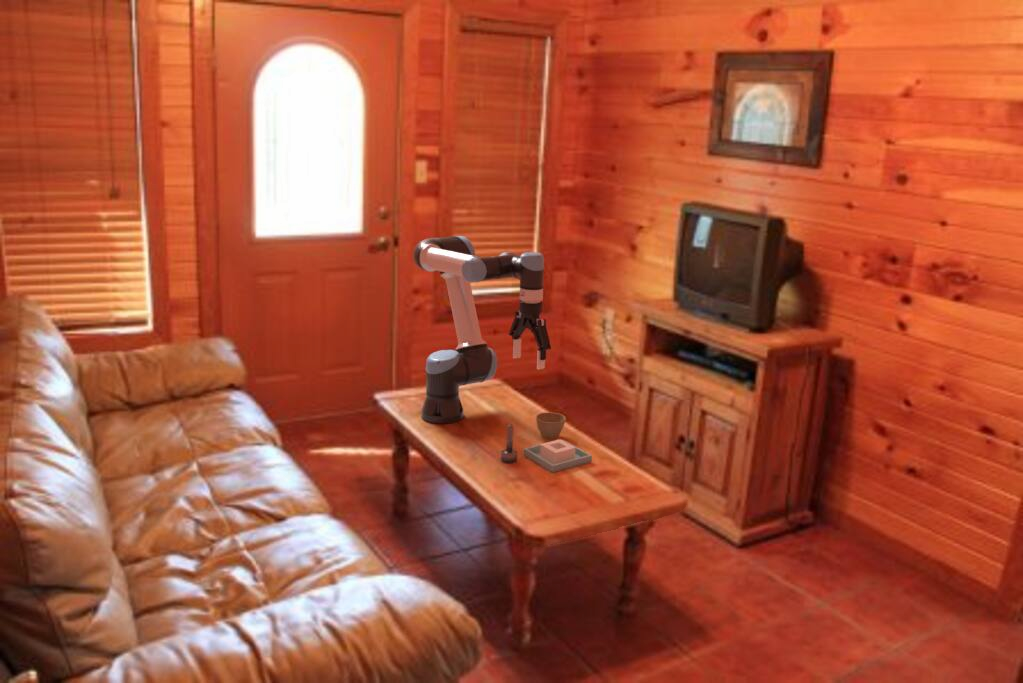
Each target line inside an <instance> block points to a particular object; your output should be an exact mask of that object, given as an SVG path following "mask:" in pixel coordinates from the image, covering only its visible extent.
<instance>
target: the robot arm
mask: <svg viewBox="0 0 1023 683" xmlns="http://www.w3.org/2000/svg"><path fill="white" fill-rule="evenodd" d="M412 251H413V252H412V259H413V263H414V264H415V266H416V267H417V268H418V269H420V270H422V271H426V272H430V273H431V272H435V271H437V272H439V276H440V277H441V278H443V279H444V280H445V284H446V289H447V293H448V297H449V298H448V299H449V302H450V308H451V312H452V313H451V314H452V317H453V323H454V328H455V333H456V338H457V344H458V345H457V346H456V347H455V350H454V349H441V350H438V351H434V352H432V353H430V354H429V355H428V356H427V359H426V362H425V365H426V366H425V374H426V375H425V376H426V377H425V378H426V379H425V382H426V383H425V389H426V390H425V391H426V392H425V398H424V401H423V404H422V408H421V411H420V412H421V414H420V415H421V418H422V419H423V421H425V422H429V423H433V424H434V423H435V424H451V423H453V424H454V423H456V422H459V421H460V420H463V418H464V407H463V405H462V401H461V398H460V387H462V386H467V385H468V386H469V385H472V384H476V383H483V382H486V381H487V382H488V381H489V380H492V379H493V378H494V376H495V375H496V373H497V369H498V358H497V354H496V353H495V351H494V350H493V348H490V347H488V343H487V342H486V341H485V340H484V339H483V337H482V332H481V329H480V328H481V327H480V324H479V319H478V314H477V310H476V304H475V299H474V294H473V290H472V286H471V283H479V282H485V281H486V282H487V281H492V280H501V279H510V278H513V279H517V280H519V300H520V301H519V302H518V303H519V304H518V310H516V311H514V312H515V313H514V319H513V322H512V323H511V326H510V329H509V332H508V335H509V336H510V337H511V338H512V359H515V360H516V359H520V358H521V357H522V356H521V355H522V335H523V333H524V332H525V331H526V329H528V330H530V332H531V333H532V334H533V337H534V339H535V342H536V344H537V346H538V349H537V353H536V354H537V357H536V370H538V371H540V370H543V369H546V358H547V351H548V350H551V349H552V346H551V342H550V338H549V334H548V329H547V323H546V322H547V321H546V319H545V318H542V319H540V314H542V312H543V302H542V301H543V299H544V297H543V296H544V276H545V275H544V274H545V256H544V254H543V253H541V252H535V251H526V252H522V253H521V255H520V254H516V253H514V252H507V251H506V252H505V251H504V252H501V253H500V254H499V255H493V256H478V255H476V250H475V248H474V245H473V243H472V242H471V240H469V239H468V238H467V237H465V236H464V235H458V236H457V235H452V236H441V237H430V238H425V239H423V240H421V241H419V242H418V243H417V244H416V245H415V247H414V249H413V250H412Z"/></svg>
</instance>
